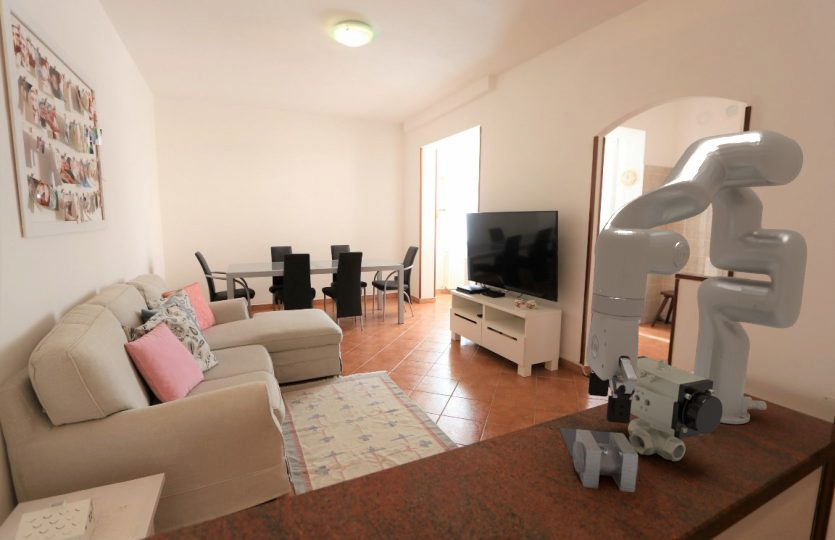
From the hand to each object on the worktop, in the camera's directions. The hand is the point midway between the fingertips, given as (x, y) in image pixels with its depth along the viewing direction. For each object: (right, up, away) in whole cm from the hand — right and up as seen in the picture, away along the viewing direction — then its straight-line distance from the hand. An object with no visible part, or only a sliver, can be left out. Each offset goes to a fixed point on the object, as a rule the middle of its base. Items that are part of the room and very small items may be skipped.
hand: (606, 407), depth 66 cm
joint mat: (+2, -11, +12) cm, 16 cm away
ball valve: (+13, -12, +10) cm, 21 cm away
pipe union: (0, -12, +2) cm, 13 cm away
